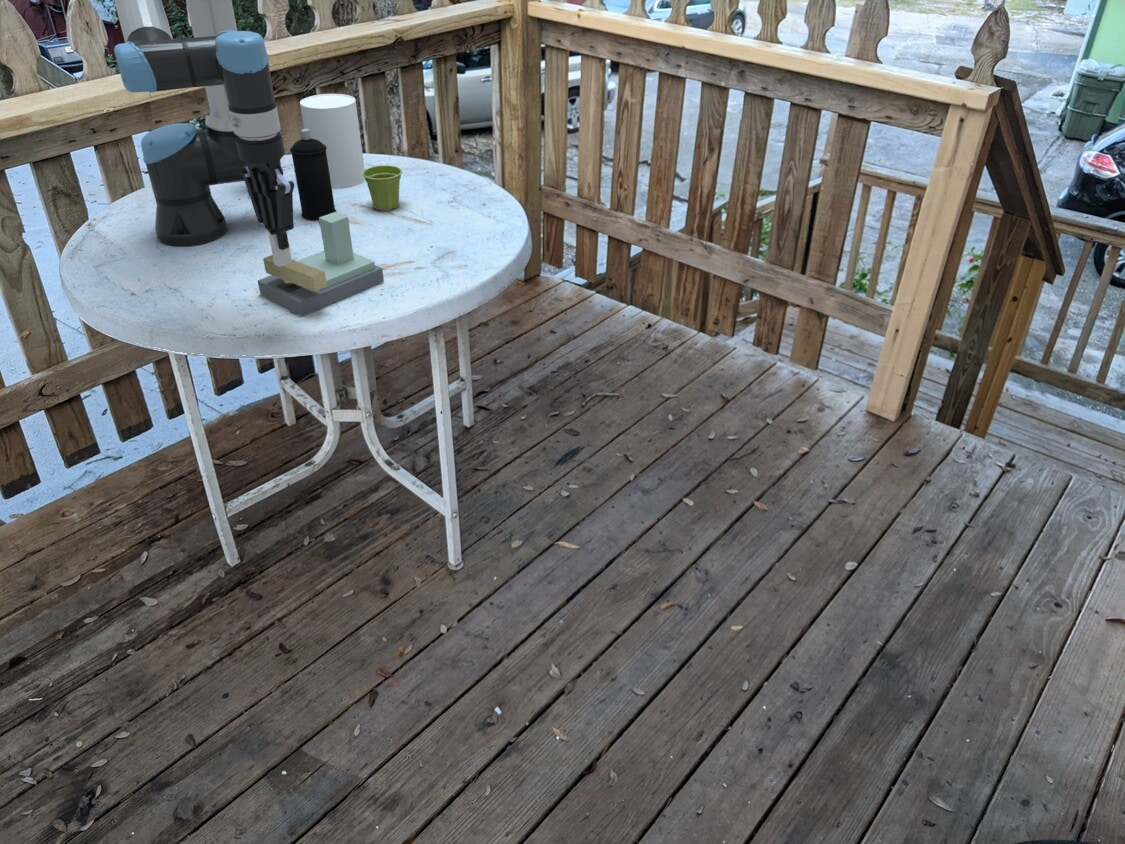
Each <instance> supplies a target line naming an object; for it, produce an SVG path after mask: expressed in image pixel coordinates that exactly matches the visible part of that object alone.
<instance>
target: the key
mask: <svg viewBox="0 0 1125 844" xmlns="http://www.w3.org/2000/svg"><path fill="white" fill-rule="evenodd" d="M291 260H292V262H291V263H289V264H286V265H283V266H281V267H278V266H276V265H275V264H274V259H273V254H271V255H269V256H266V257H264V258H262V261H263V265H264V270H265V274H268V275H269V276H271V275H273V276H275V277H278V278H281V279H283V281H284V286H285V287H294V286H296V285H299V286H301V287H304V288H307V289H309V290H312V291H314V292H316V291H318V290H320V289H322V288H324V287H326V286H327V283H326V277H325V272H324V271H322V270H319V269H316V268H314V267H311V266H308V265H305V264H303V263H300V262H297V261H298V260H294V259H292V258H291Z"/></svg>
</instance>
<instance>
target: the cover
mask: <svg viewBox="0 0 1125 844" xmlns="http://www.w3.org/2000/svg"><path fill="white" fill-rule="evenodd" d="M318 221H319V227H320V233H321V238H322V239H321V240H322V245H323V251H322V250H321V251H319V252H316V253H314V254H312V255H308V256H306V257H303V258H301V259H297V260H296V261H297V262H300V263H303V264H305V265H308V266H311V267H314V268H316V269H319V270H322V271H324V272H325V277H326V283H327V286H326V287H324V288H322V289H321V290H324V289H326V288H329V287H331V286H333V285H336V284H338V283H341V282H343V281H346V280H348V279H351V278H353V277H356V276H358V275H360V274H363V273H365V272H368V271H370V270H373V269H375V265H376V264H375V261H374V260H372V259H369V258H367V257H366V256H362V255H361V254H358V253H356V252H355V251H354V249H353V243H352V235H351V230H350V222H349V217H348V216H346V215H344V214H341V213H339V212H334V213H331V214H328V215H325V216H322V217H319V220H318Z"/></svg>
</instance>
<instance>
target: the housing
mask: <svg viewBox="0 0 1125 844" xmlns="http://www.w3.org/2000/svg"><path fill="white" fill-rule="evenodd" d="M384 281H385V279H384V273H383V268H382V267H380V266H378V265H377V264H375V269H373V270H370V271H368V272H365V273H363V274H360V275H358V276H356V277H353V278H351V279H348V280H346V281H343V282H341V283H338V284H336V285H333V286H331V287H329V288H326V289H324V290H321V289H320V290H318V291H316V292H314V291H312V290H309V289H307V288H304V287H301V286H299V285H296V286H294V287H285V286H284V281H283V279H281V278H278V277H275V276H273V275H268V276H266V277H263V278H259V279H257V285H258V289H259V294H260V295H261V296H263V297H265V298H267V299H269V301H273V302H274V303H276V304H278V305H280V306H282V307H283V308H286V309H288V310H289V311H291V312H293V313H294V314H296V315H298V316H300V317H304V316H306V315H309V314H311V313H314V312H316V311H318V310H320V309H322V308H325V307H328V306H330V305H332V304H335V303H336V302H339V301H341V300H345V299H346V298H348V297H351V296H353V295H356V294H359V293H360V292H363V291H365V290H368V289H370V288H374V286H376V285H379V284H383V283H385V282H384Z"/></svg>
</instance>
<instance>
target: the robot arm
mask: <svg viewBox="0 0 1125 844" xmlns="http://www.w3.org/2000/svg"><path fill="white" fill-rule="evenodd" d="M185 2H186V3H185V4H186V7H187V11H188V16H189V21H190V24H191V25H190V26H191V29H192V34H193V37H189V38H188V37H187V38H173V37H174V36H173V34H172V31H171V27H170V24H169V22H168V21H169V20H168V17H167V15H166V11H165V7H164V4H163V1H162V0H114V4H115V8H116V13H117V17H118V19H119V23H120V28H121V32H122V35H123V39H124V42H122V43H118V44H116V45H115V46H114V48H113V51H114V52H113V53H114V56H115V59H116V63H117V67H118V71H119V75H120V77H121V81H122V84H123V87H124V89H125V90H127V91H128V92H130V93H151V94H152V93H156V92H162V91H171V90H180V89H189V88H190V89H191V88H201V87H204V90H205V92H206V98H207V102H208V105H209V112H210V113H209V115H207V117H206V119H205V127H206V129H201V130H197V127H196V126H195V125H194V124H192V123H189V122H179V123H177V122H176V123H171V124H167V125H163V126H160V127H158V128H155V129H152V130H151V131H149V132H147V133H146V134H145V135H144V136H143V137H142V139H141V142H140V146H141V150H142V151H141V153H142V157H143V158H142V159H143V162H144V164H145V166H146V171H147V173H148V177H149V181H150V184H151V185H150V186H151V189H152V192H153V193H152V194H153V195H154V199H155V202H156V204H155V205H156V210H155V225H154V229H155V230H154V231H155V234H156V238H157V239H158V241H159V242H160V243H163V244H164V245H169V246H177V247H181V246H182V247H186V246H187V247H188V246H195V245H202V244H206V243H210V242H212V241H214V240H217V239H219V238H221V237H223V236H224V235H226V234H227V232H228V224H227V220H226V217H225V215H224V214H223V212H222V211H221V209H220V207H219V206H218V204H217V202H216V201H215V199H214V198H213V196H212V193H211V187H210V186H215V185H217V186H218V185H222V184H230V183H239V182H244V184H245V186H246V189H247V192H248V195H249V198H250V201H251V204H252V207H253V210H254V212H255V217H256V218H257V222H258V223H259V224H263V225H264V226H263V227H264V229H265V230H266V231H267V234H268V239H269V243H270V248H271V253H272V254H271V255H273V259H274V264H275V265H276V266H278V267H281V266H283V265H286V264H289V263H291V262H292V260H293V259H292V255H291V249H290V244H289V243H290V242H289V239H288V232H289V231H291V230H294V225H295V224H294V199H293V193H294V189H295V183H294V182H293V180H289V181H288V180H287V179H286V178H285V177H284V170H283V168H282V165H280V163H281V159H282V158H283V157H284V156H285V147H284V146H285V145H284V141H283V135H282V134H281V133H280V131H281V129H282V128H281V124H280V119H279V113H278V107H277V104H276V100H275V94H274V87H273V82H272V77H271V71H270V69H271V68H270V65H269V59H270V58H269V53H268V52H267V48H266V44H265V40H264V38H263V36H262V35H261V34H259V33H257V32H254V31H250V30H238V27H237V23H236V21H237V20H236V17H235V11H234V6H233V1H232V0H185ZM291 259H292V260H291Z"/></svg>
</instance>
